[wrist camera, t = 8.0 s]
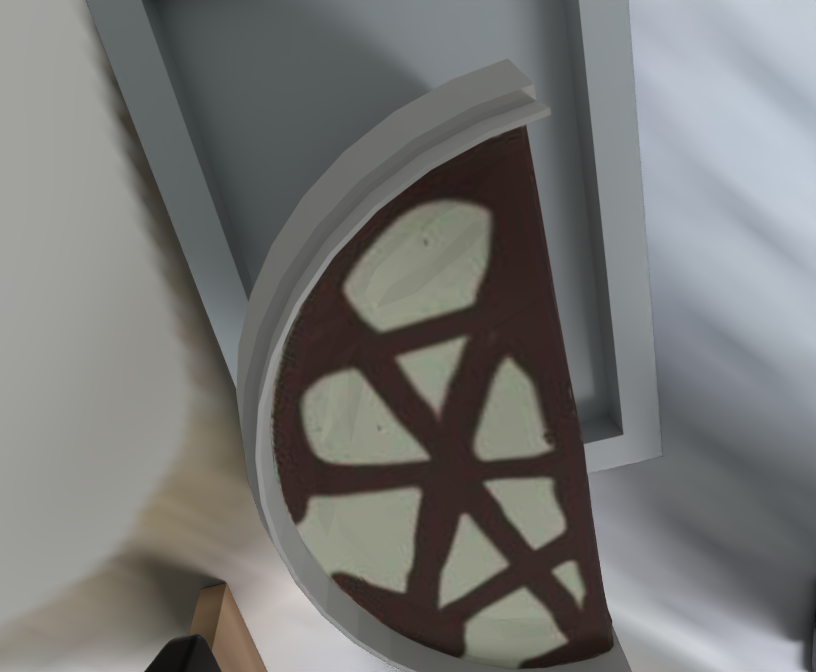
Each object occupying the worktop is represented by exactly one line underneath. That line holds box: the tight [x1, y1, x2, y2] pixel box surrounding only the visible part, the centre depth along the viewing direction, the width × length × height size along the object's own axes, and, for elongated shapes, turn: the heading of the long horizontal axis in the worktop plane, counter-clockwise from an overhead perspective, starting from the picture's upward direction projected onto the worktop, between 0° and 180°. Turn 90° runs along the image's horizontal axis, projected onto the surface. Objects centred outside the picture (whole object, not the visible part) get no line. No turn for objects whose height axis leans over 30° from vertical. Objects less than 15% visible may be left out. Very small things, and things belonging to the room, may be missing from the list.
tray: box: [86, 0, 663, 474], centre depth 19 cm, size 12×17×2 cm
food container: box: [236, 59, 632, 672], centre depth 15 cm, size 12×6×10 cm, turn 14°
